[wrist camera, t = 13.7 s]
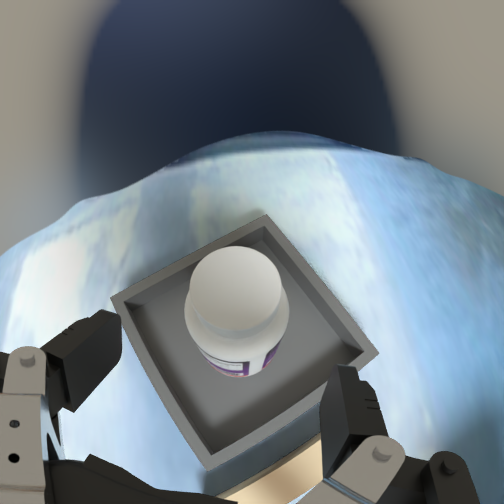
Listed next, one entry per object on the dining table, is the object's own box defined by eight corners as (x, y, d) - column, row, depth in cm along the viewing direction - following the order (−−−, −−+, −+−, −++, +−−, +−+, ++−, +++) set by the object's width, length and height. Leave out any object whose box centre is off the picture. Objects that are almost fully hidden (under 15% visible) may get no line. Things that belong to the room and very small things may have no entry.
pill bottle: (255, 294, 24) (262, 216, 15) (290, 357, 21) (322, 311, 13) (188, 324, 22) (156, 259, 14) (220, 391, 20) (203, 369, 12)
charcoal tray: (264, 235, 28) (266, 214, 25) (364, 362, 22) (379, 353, 20) (123, 312, 24) (110, 297, 21) (211, 465, 18) (207, 471, 15)
